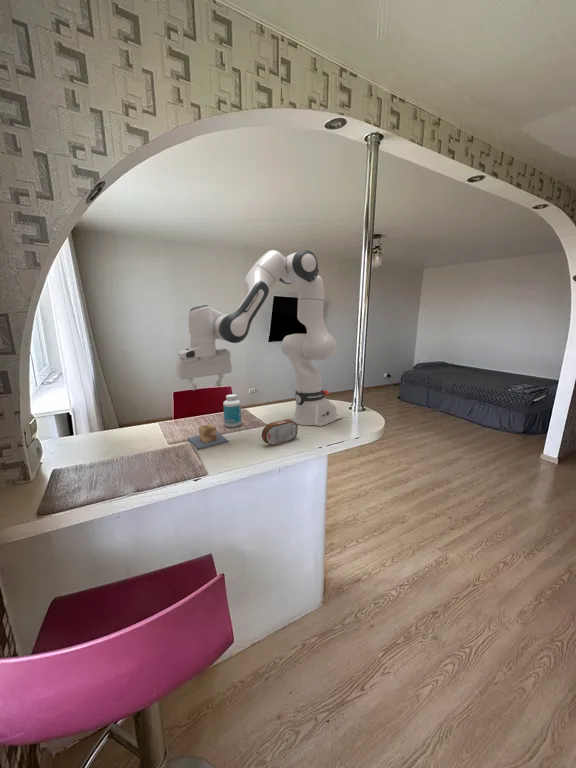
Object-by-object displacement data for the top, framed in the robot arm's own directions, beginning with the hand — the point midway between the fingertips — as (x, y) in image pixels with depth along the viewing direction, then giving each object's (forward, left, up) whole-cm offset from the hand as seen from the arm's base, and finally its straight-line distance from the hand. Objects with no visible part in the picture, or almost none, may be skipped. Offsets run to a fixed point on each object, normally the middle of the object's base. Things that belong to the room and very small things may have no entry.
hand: (206, 387), depth 124 cm
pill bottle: (-15, -12, -21) cm, 29 cm away
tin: (-21, +18, -22) cm, 35 cm away
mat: (+1, 0, -21) cm, 21 cm away
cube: (+1, 0, -20) cm, 20 cm away
